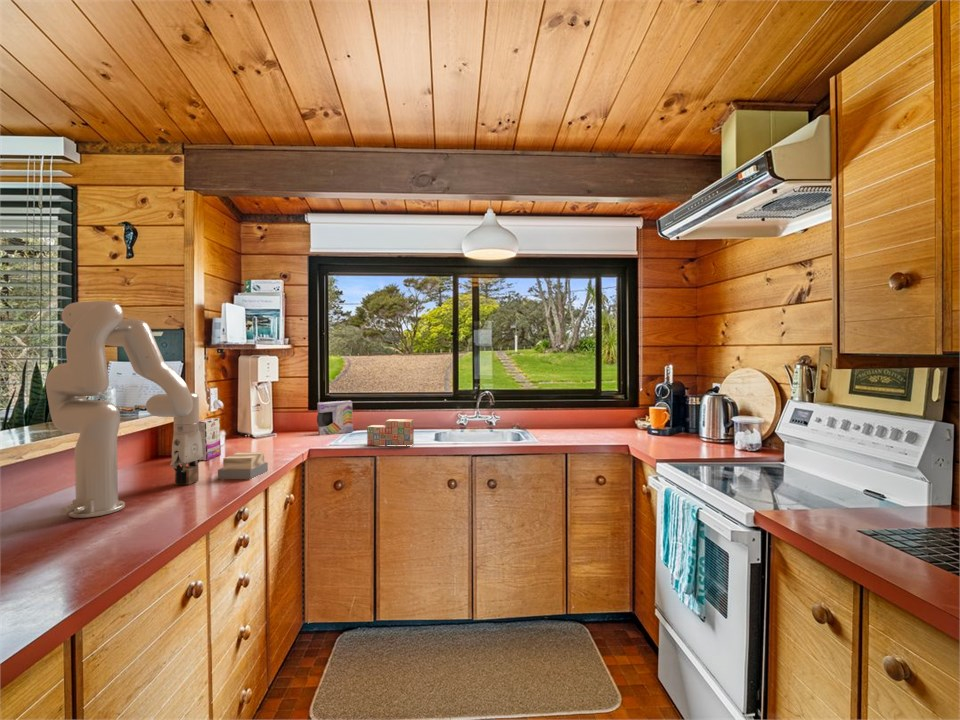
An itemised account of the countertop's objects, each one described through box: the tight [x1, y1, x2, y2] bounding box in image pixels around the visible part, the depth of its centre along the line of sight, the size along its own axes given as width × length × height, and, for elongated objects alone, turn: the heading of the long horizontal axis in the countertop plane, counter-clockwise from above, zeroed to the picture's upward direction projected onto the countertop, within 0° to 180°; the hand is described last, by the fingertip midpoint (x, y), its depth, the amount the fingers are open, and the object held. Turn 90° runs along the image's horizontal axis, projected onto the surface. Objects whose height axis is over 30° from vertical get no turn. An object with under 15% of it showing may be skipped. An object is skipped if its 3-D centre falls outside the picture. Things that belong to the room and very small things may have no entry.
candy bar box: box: [199, 417, 222, 461], centre depth 209 cm, size 11×5×16 cm, turn 0°
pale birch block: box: [222, 451, 265, 470], centre depth 178 cm, size 10×10×4 cm
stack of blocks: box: [366, 418, 415, 446], centre depth 234 cm, size 21×6×12 cm, turn 82°
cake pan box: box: [316, 400, 354, 436], centre depth 269 cm, size 19×5×18 cm, turn 119°
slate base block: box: [217, 461, 269, 480], centre depth 179 cm, size 12×12×4 cm
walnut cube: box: [174, 465, 200, 485], centre depth 169 cm, size 5×5×5 cm
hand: (187, 480), depth 169 cm, fingers closed on walnut cube, 4 cm apart
